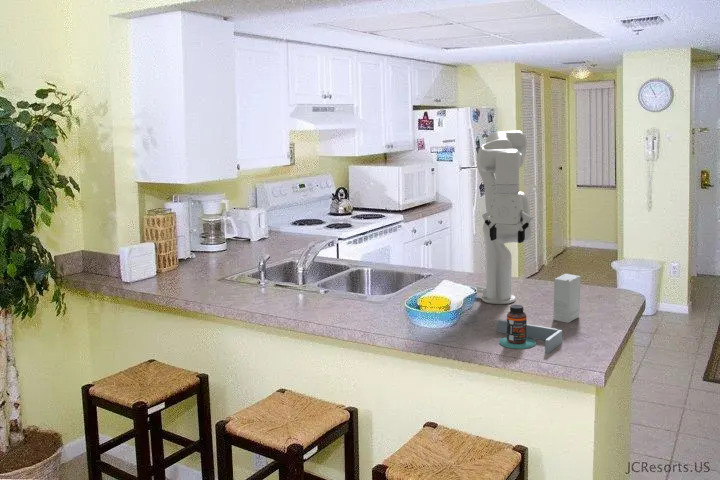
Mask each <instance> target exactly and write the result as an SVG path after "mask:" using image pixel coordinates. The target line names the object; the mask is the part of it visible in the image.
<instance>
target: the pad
mask: <svg viewBox="0 0 720 480" xmlns="http://www.w3.org/2000/svg"><path fill="white" fill-rule="evenodd" d="M498 343H499V345H501V346H502V347H504V348H506V349H507V348H508V349H513V350H514V349H515V350H526V349H531V348H533V347H535V346H536V345H537V343H536V341H535V340H534V338H529V337H526V342H525V343H522V344H513V343H510V342H508V341H507V336H505V337H502V338H500V339H499V341H498Z"/></svg>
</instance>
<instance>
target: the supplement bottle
mask: <svg viewBox="0 0 720 480" xmlns="http://www.w3.org/2000/svg"><path fill="white" fill-rule="evenodd" d="M527 318H528V317H527V313H526V312H524V305H522V304H511V305H510V306H509V312H507V314H506V321H507V334H506V337H507V341H508V342H510V343H513V344H522V343H525V342H526V334H527V333H526V332H527V324H528V322H527Z"/></svg>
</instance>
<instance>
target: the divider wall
mask: <svg viewBox="0 0 720 480" xmlns="http://www.w3.org/2000/svg"><path fill="white" fill-rule="evenodd" d="M496 332H497V333H501V334H506V335H507V319H506V320H505V319H497V320H496ZM526 333H527V334H526V337H527V338H531V339H535V340H542V341H544V353H545V354H550V353H551V352H552V351H553V350H555V349H556V348H558V346H560V345H561V344H562V343H563V329H558V328H555V327H549V326H541V325H535V324H530V323H527V332H526Z"/></svg>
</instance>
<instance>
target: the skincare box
mask: <svg viewBox="0 0 720 480" xmlns="http://www.w3.org/2000/svg"><path fill="white" fill-rule="evenodd" d="M581 279H582V278H581V275H577V274H570V273H563V274H562V275H560V276H557V277H555V278H554V285H553V287H554V288H553V318H552V319H553V320H554V321H558V322H564V323H568V324H569V323H571V322H572V321H574V320H576V319H578V318H579V317H580V309H581V308H580V301H581Z"/></svg>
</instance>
